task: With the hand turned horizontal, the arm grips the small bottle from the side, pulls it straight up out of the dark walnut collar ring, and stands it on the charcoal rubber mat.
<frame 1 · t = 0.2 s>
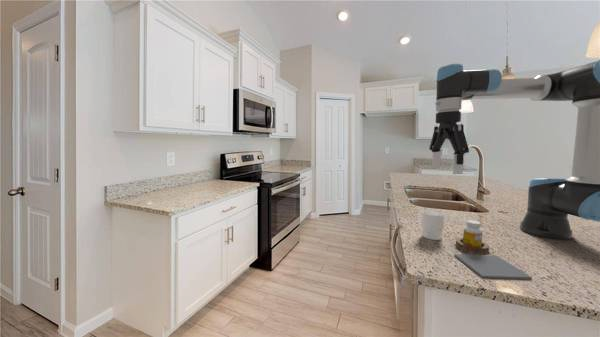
hand: (446, 171, 86), 27 cm above the counter, tool pointing down, fingers open, 13 cm apart
supplement bottle: (471, 248, 84), resting in collar
mat: (489, 266, 72), on the counter
collar: (471, 248, 84), on the counter
white cup: (431, 237, 95), on the counter
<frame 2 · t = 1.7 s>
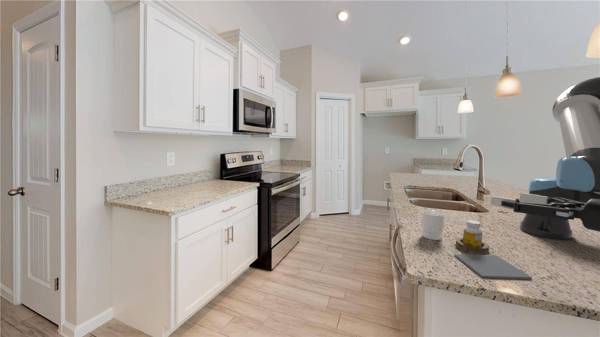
hand: (506, 198, 73), 20 cm above the counter, tool horizontal, fingers open, 13 cm apart
nothing on the counter moved.
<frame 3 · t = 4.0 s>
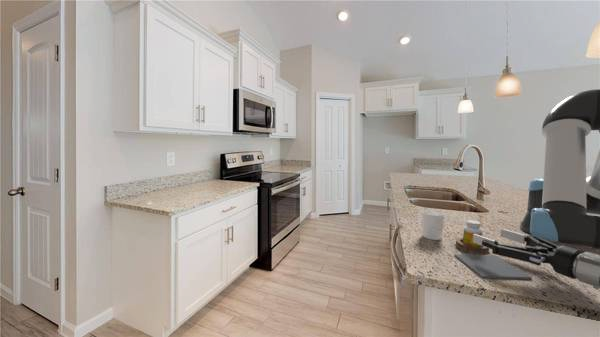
hand: (487, 235, 78), 7 cm above the counter, tool horizontal, fingers open, 13 cm apart
nothing on the counter moved.
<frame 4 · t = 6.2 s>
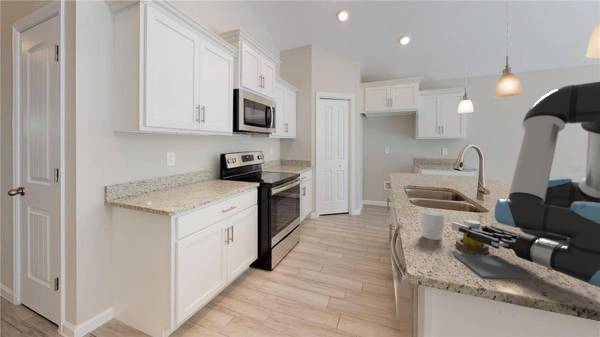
hand: (458, 224, 88), 7 cm above the counter, tool horizontal, fingers closed on supplement bottle, 5 cm apart
supplement bottle: (471, 248, 84), resting in collar, touching gripper
everything else where it was.
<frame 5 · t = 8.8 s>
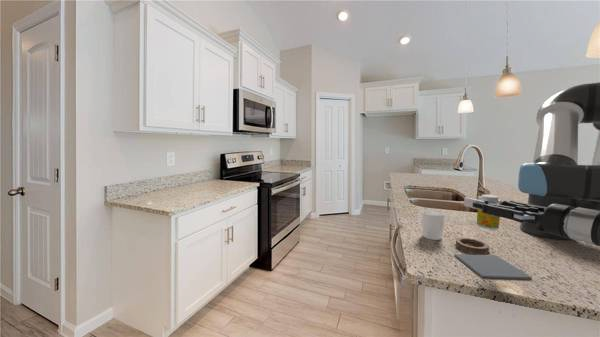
hand: (471, 200, 77), 19 cm above the counter, tool horizontal, fingers closed on supplement bottle, 5 cm apart
supplement bottle: (487, 227, 73), point 11 cm above the counter, touching gripper
everything else where it was.
when the fingers open (9 cm above the counter, at t = 11.4 s): supplement bottle drops 1 cm, resting on mat.
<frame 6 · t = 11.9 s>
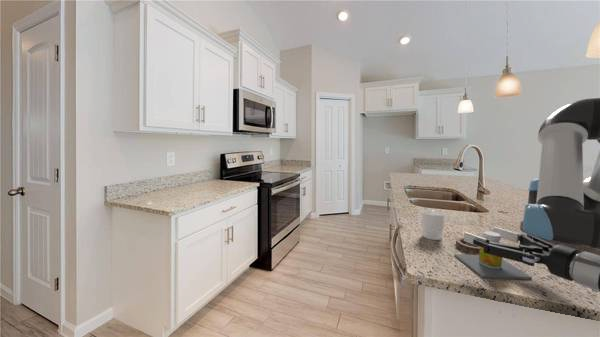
hand: (479, 233, 74), 9 cm above the counter, tool horizontal, fingers open, 12 cm apart
supplement bottle: (489, 265, 71), resting on mat
everything else where it was.
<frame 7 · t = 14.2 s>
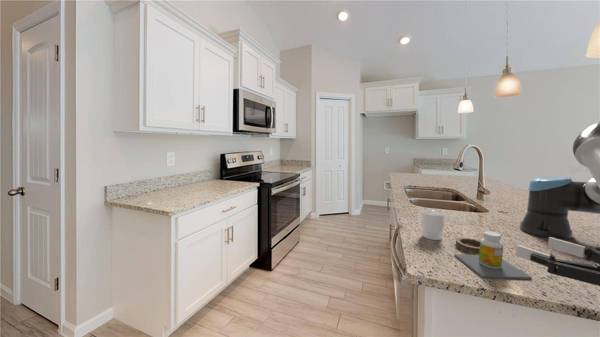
hand: (533, 245, 62), 11 cm above the counter, tool horizontal, fingers open, 13 cm apart
nothing on the counter moved.
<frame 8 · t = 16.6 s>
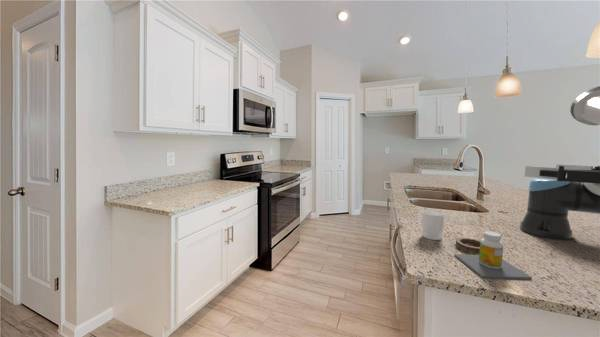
hand: (541, 170, 63), 30 cm above the counter, tool horizontal, fingers open, 13 cm apart
nothing on the counter moved.
at the end: supplement bottle inside the target area on the mat (0.1 cm from its centre), point 0.4 cm above the mat's base; supplement bottle tilted 0°; the gripper is holding nothing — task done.
